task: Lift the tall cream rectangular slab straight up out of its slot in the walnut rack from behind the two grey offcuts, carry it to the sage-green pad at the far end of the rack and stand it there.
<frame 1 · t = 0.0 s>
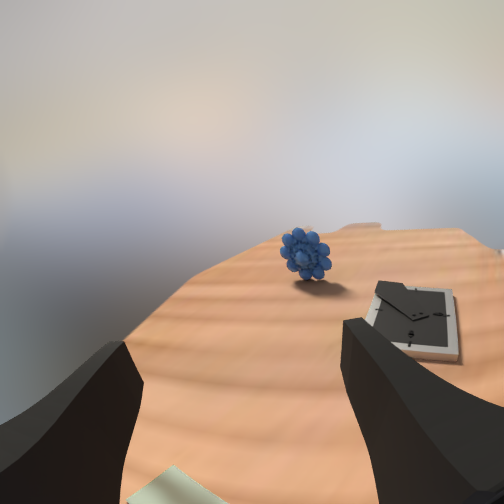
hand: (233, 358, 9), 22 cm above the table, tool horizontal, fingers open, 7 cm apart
blue flower: (306, 282, 66), on the table
square clock: (411, 324, 45), on the table
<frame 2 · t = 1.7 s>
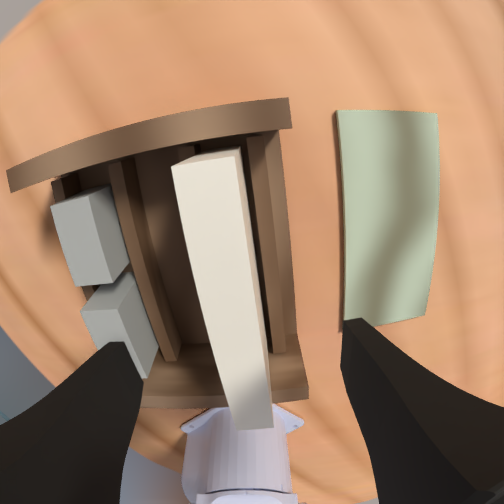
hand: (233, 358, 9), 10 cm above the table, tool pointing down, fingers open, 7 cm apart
offcut a: (136, 305, 19), point 1 cm above the table, touching rack
rack: (207, 249, 18), on the table
cream rectangular slab: (239, 250, 18), point 1 cm above the table, touching rack
offcut b: (111, 220, 17), point 1 cm above the table, touching rack
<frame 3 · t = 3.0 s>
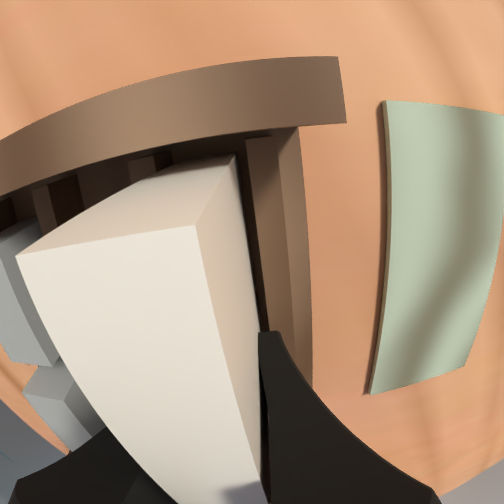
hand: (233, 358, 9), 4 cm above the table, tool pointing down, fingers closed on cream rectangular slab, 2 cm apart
offcut a: (102, 368, 13), point 1 cm above the table, touching rack
rack: (190, 305, 13), on the table
cream rectangular slab: (235, 310, 12), point 1 cm above the table, touching gripper, rack
offcut b: (55, 263, 11), point 1 cm above the table, touching rack
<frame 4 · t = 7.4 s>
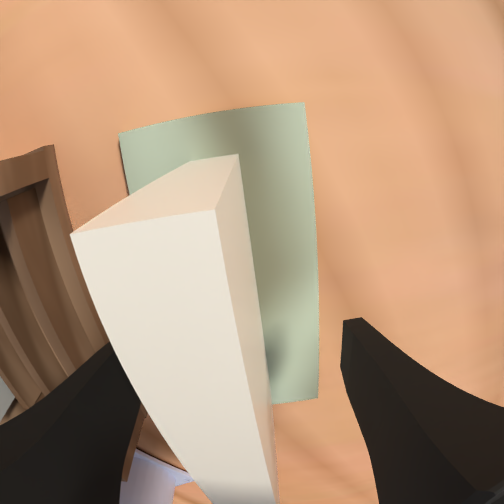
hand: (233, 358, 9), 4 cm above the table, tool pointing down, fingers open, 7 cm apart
rack: (33, 308, 13), on the table
cream rectangular slab: (237, 300, 13), resting on rack
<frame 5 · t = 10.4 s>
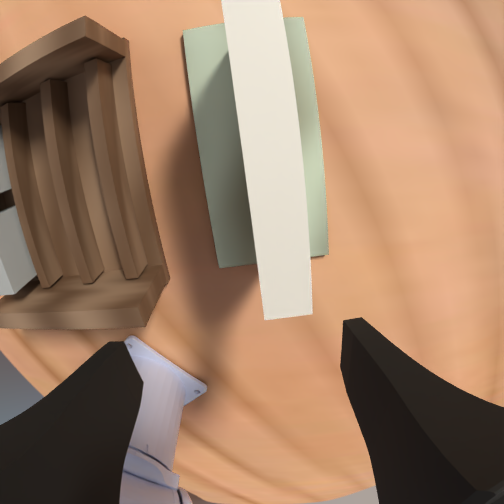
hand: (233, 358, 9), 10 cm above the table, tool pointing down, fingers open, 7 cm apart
offcut a: (27, 235, 17), point 1 cm above the table, touching rack
rack: (77, 176, 17), on the table
cream rectangular slab: (260, 142, 16), resting on rack
offcut b: (9, 158, 15), point 1 cm above the table, touching rack
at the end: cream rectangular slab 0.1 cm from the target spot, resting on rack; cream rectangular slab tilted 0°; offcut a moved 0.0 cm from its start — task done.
